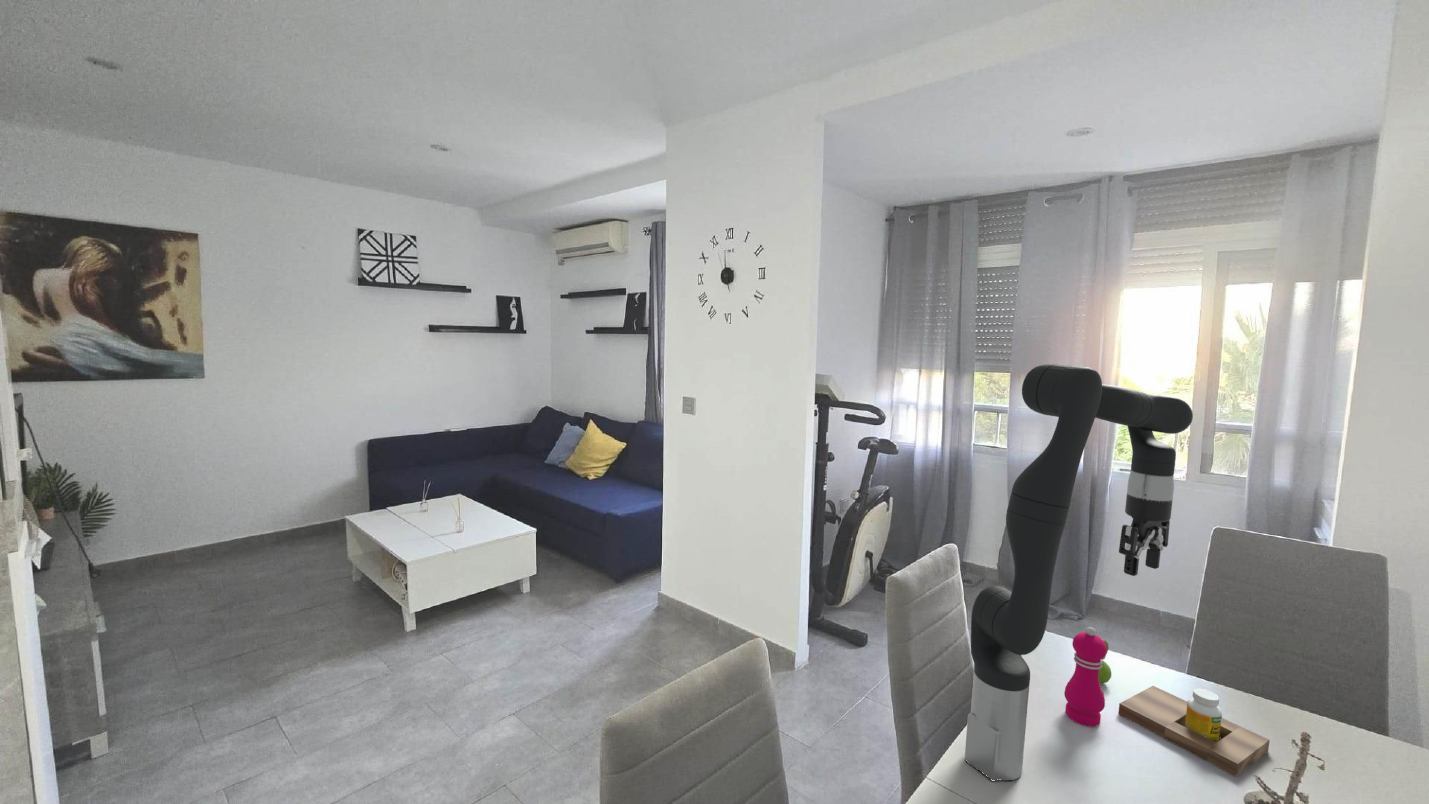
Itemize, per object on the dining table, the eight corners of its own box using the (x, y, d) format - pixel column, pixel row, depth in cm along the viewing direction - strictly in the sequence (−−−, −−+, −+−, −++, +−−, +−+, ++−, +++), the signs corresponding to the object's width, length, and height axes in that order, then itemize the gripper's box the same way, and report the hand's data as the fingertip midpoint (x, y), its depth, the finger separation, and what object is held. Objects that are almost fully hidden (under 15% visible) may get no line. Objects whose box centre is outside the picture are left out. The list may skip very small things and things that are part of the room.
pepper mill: (1091, 708, 127) (1099, 620, 124) (1110, 730, 119) (1119, 637, 117) (1056, 705, 127) (1064, 618, 125) (1073, 727, 120) (1081, 635, 118)
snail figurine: (1074, 679, 137) (1079, 630, 136) (1092, 673, 140) (1096, 625, 139) (1098, 692, 133) (1103, 641, 131) (1115, 685, 135) (1120, 636, 134)
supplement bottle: (1189, 726, 121) (1194, 683, 120) (1222, 741, 117) (1228, 696, 116) (1179, 735, 118) (1184, 691, 117) (1212, 751, 114) (1218, 705, 113)
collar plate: (1236, 776, 107) (1238, 764, 107) (1118, 714, 125) (1119, 703, 124) (1268, 751, 114) (1269, 739, 114) (1151, 696, 131) (1153, 685, 131)
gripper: (1152, 503, 112) (1143, 584, 114) (1188, 495, 119) (1179, 571, 121) (1110, 493, 119) (1103, 570, 120) (1146, 486, 126) (1139, 559, 127)
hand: (1141, 570), depth 121 cm, fingers open, 8 cm apart
